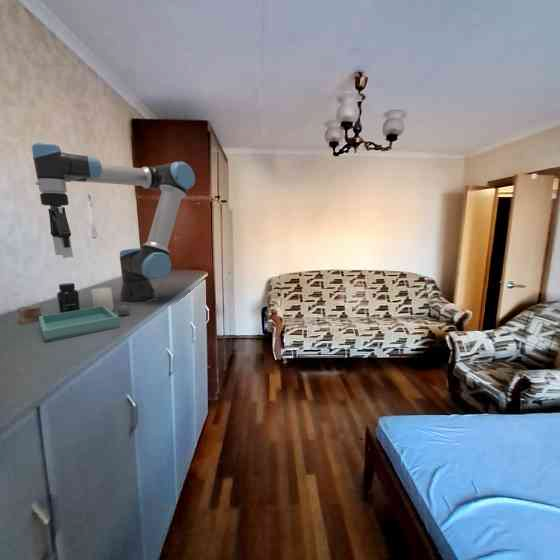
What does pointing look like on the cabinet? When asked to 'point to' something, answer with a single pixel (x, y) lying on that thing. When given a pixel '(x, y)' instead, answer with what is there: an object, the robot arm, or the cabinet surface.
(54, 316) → the tray
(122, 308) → the grey egg
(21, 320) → the walnut block
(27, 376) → the cabinet surface
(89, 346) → the cabinet surface
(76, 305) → the supplement bottle
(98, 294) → the cream round piece
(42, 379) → the cabinet surface
